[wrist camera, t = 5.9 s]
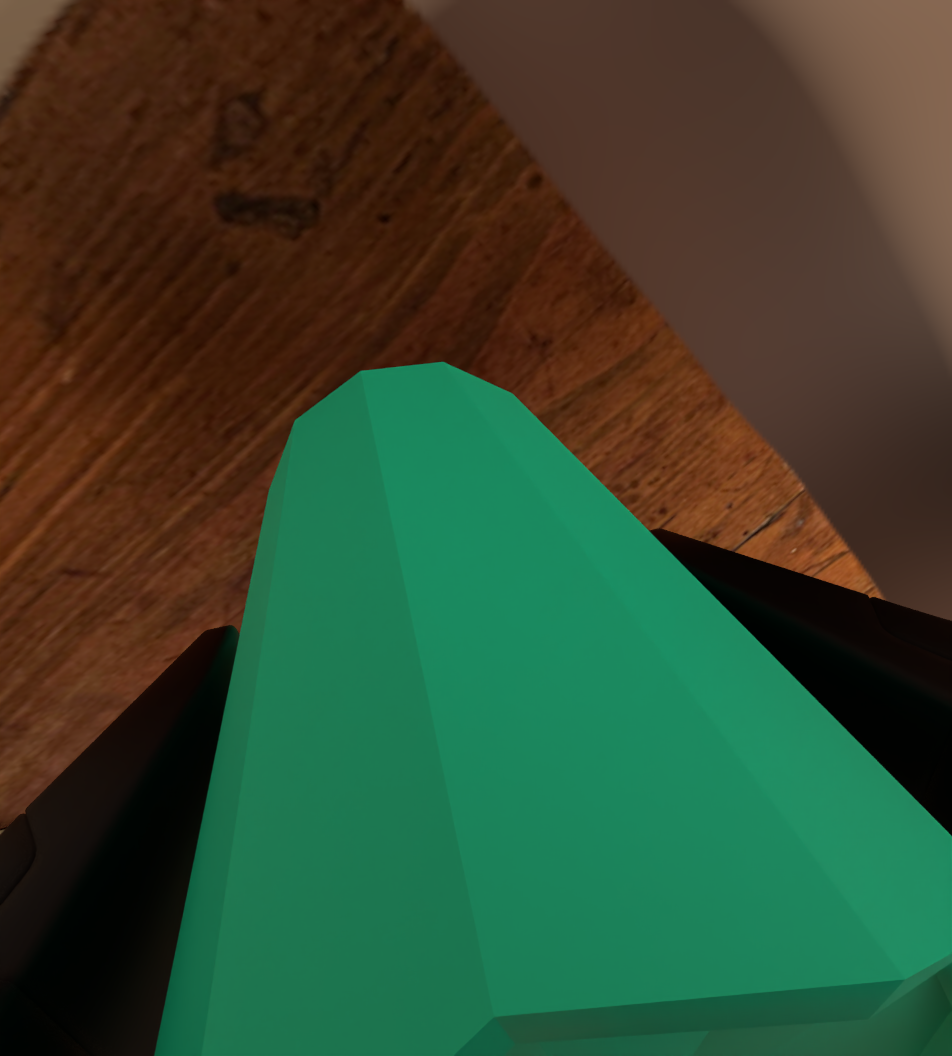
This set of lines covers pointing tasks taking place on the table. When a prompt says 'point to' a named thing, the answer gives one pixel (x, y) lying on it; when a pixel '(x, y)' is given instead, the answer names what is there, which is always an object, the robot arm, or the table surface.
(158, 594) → the table surface
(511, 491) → the candle
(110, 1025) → the robot arm
